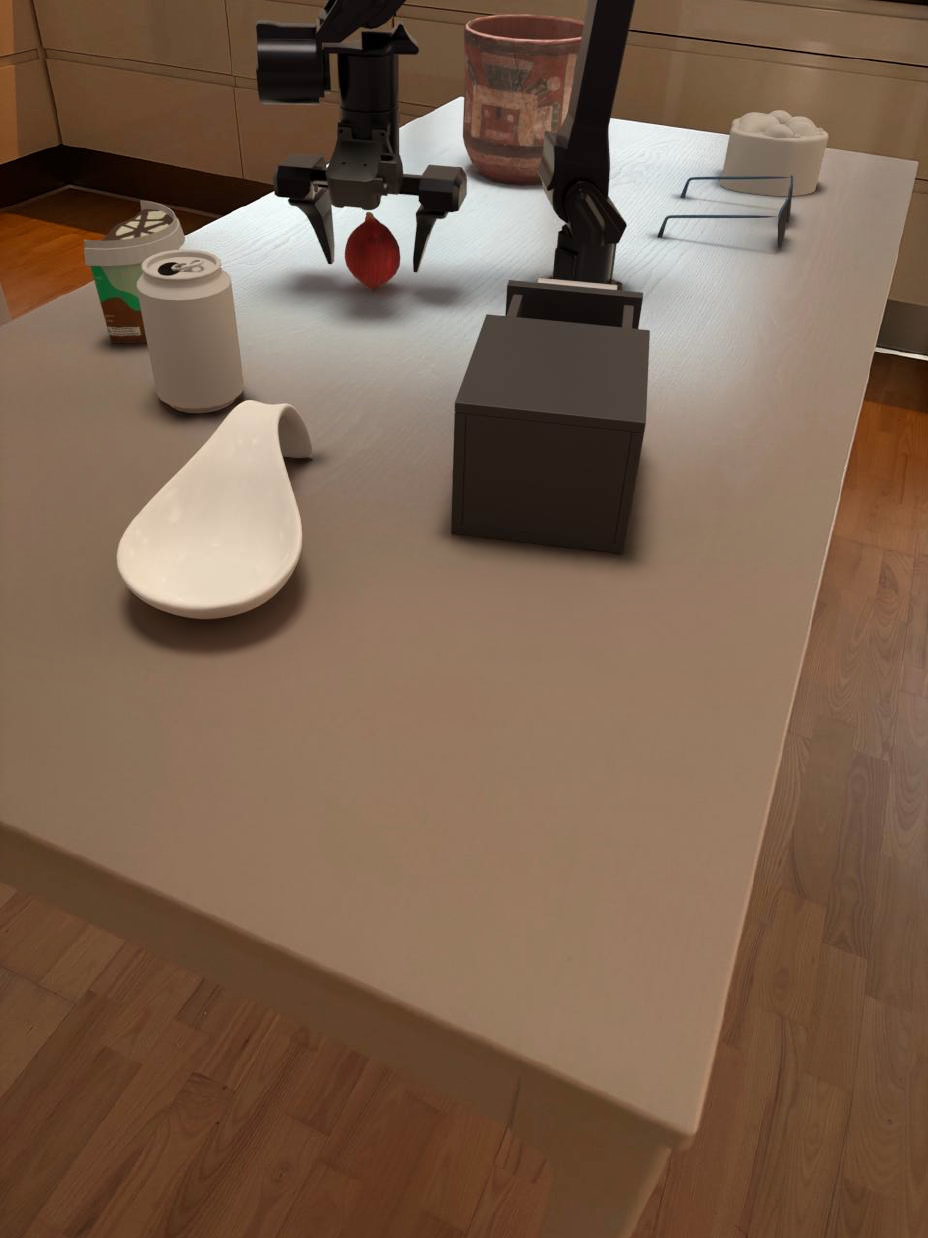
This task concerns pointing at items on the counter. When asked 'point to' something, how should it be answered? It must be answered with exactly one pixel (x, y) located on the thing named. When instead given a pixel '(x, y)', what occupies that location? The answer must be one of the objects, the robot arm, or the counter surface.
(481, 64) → the pottery
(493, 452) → the dark grey storage box
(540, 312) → the drawer
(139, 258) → the food container
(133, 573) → the spoon rest
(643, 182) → the counter surface
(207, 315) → the can
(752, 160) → the lumpy-topped squat cylinder
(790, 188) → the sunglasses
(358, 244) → the onion
